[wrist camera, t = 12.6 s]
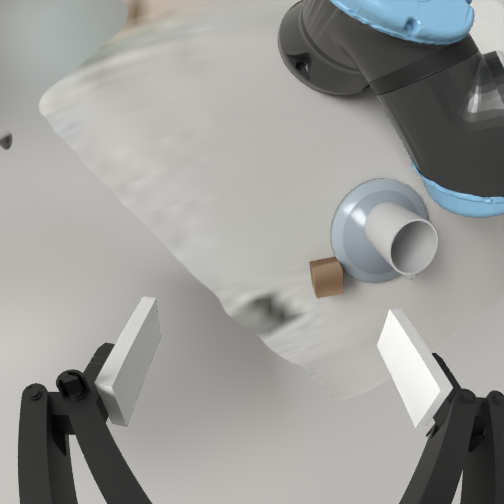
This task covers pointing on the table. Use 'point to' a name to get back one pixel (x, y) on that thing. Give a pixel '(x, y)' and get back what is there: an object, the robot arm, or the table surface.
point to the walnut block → (326, 277)
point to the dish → (353, 227)
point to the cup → (401, 238)
